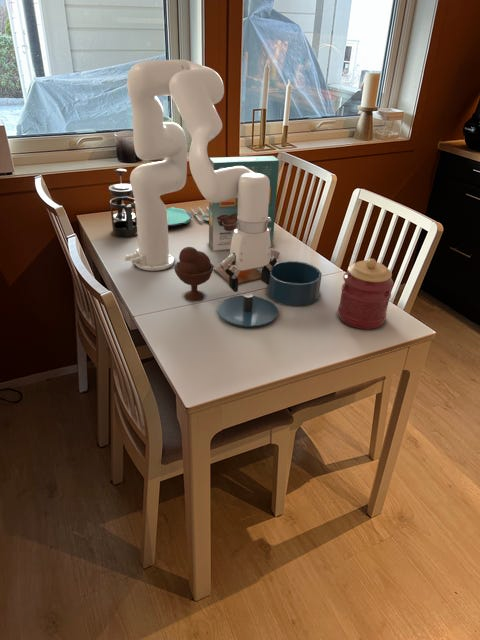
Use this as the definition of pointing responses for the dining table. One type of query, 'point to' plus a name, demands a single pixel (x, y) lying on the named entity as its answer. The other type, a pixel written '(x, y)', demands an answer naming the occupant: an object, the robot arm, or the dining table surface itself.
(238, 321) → the lid
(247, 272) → the cup
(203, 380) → the dining table surface
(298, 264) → the pot
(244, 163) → the cake mix box
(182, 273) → the ice cream bowl
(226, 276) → the plate
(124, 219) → the french press
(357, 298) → the kitchen canister
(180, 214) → the cutlery set
